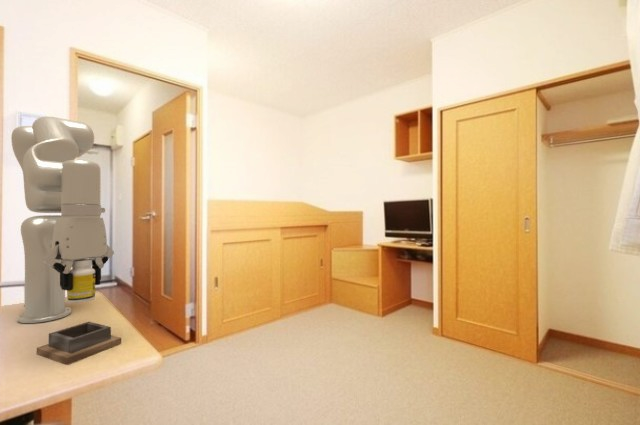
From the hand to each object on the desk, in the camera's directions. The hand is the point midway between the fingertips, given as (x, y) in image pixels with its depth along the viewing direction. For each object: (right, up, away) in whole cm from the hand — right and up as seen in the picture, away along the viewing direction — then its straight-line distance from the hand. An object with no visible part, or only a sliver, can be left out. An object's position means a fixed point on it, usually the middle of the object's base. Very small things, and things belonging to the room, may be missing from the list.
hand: (81, 286), depth 75 cm
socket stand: (0, -15, 0) cm, 15 cm away
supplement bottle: (0, -4, 0) cm, 4 cm away
